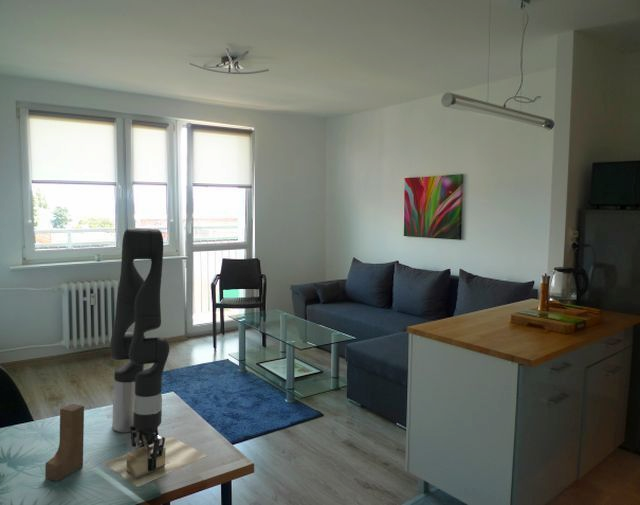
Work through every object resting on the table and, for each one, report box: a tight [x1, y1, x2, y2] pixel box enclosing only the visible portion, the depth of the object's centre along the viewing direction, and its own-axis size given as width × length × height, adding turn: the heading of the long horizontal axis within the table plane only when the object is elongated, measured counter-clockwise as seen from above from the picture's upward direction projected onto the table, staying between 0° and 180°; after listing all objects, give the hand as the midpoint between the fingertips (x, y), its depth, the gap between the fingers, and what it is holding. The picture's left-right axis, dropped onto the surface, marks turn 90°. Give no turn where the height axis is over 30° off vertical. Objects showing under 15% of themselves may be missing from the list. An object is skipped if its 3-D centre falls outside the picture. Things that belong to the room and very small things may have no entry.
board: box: [103, 436, 208, 488], centre depth 139 cm, size 18×23×1 cm
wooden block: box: [44, 403, 85, 482], centre depth 131 cm, size 9×4×18 cm, turn 162°
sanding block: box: [126, 444, 166, 479], centre depth 133 cm, size 5×9×6 cm, turn 143°
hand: (146, 466), depth 133 cm, fingers closed on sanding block, 5 cm apart
